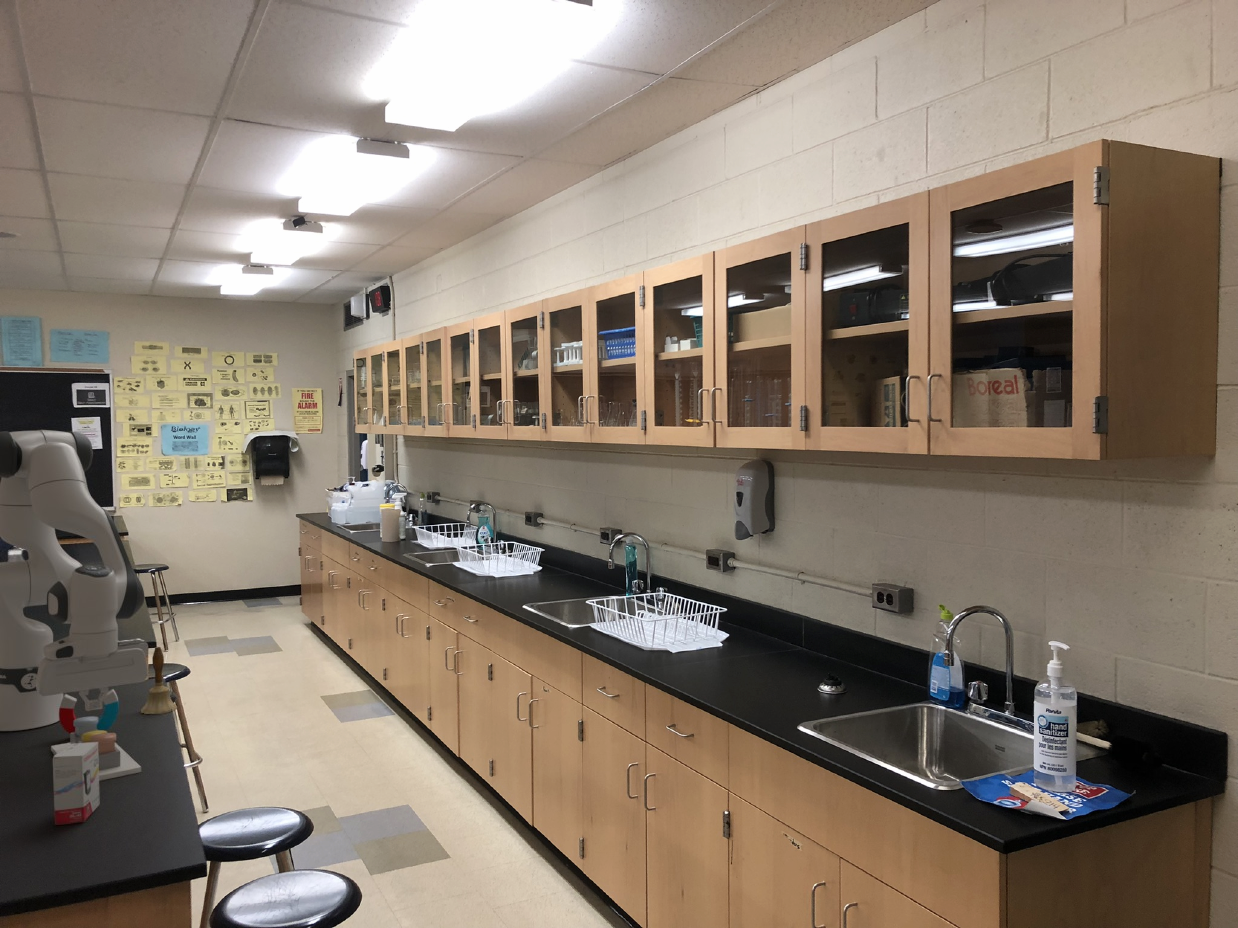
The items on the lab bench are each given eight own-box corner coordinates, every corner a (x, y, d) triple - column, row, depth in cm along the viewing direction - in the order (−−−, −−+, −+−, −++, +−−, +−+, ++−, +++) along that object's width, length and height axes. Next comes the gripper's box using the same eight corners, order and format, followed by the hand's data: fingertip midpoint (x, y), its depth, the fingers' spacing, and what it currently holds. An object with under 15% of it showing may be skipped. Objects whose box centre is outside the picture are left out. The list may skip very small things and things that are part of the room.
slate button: (71, 739, 195) (71, 719, 195) (95, 735, 198) (95, 715, 198) (76, 744, 192) (76, 723, 192) (100, 740, 195) (100, 719, 195)
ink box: (84, 823, 156) (83, 755, 156) (51, 826, 155) (51, 757, 155) (100, 805, 165) (100, 740, 165) (70, 807, 164) (69, 742, 163)
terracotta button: (88, 757, 183) (87, 735, 183) (113, 752, 186) (113, 731, 186) (93, 763, 180) (93, 740, 180) (118, 758, 183) (118, 736, 183)
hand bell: (166, 714, 223) (166, 650, 223) (133, 714, 224) (133, 650, 224) (183, 705, 232) (183, 643, 232) (151, 705, 232) (151, 643, 232)
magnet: (118, 731, 210) (118, 688, 210) (118, 734, 208) (118, 690, 207) (59, 738, 204) (59, 694, 204) (58, 741, 202) (58, 697, 202)
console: (51, 750, 196) (51, 732, 196) (108, 739, 203) (107, 722, 203) (78, 784, 175) (78, 764, 175) (141, 771, 182) (141, 752, 182)
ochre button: (79, 754, 189) (79, 733, 189) (104, 749, 192) (104, 728, 192) (84, 760, 186) (84, 738, 186) (109, 755, 189) (109, 733, 189)
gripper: (144, 634, 198) (144, 697, 199) (34, 647, 185) (34, 714, 185) (152, 639, 194) (151, 703, 194) (40, 653, 180) (40, 721, 180)
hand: (93, 709), depth 189 cm, fingers closed
